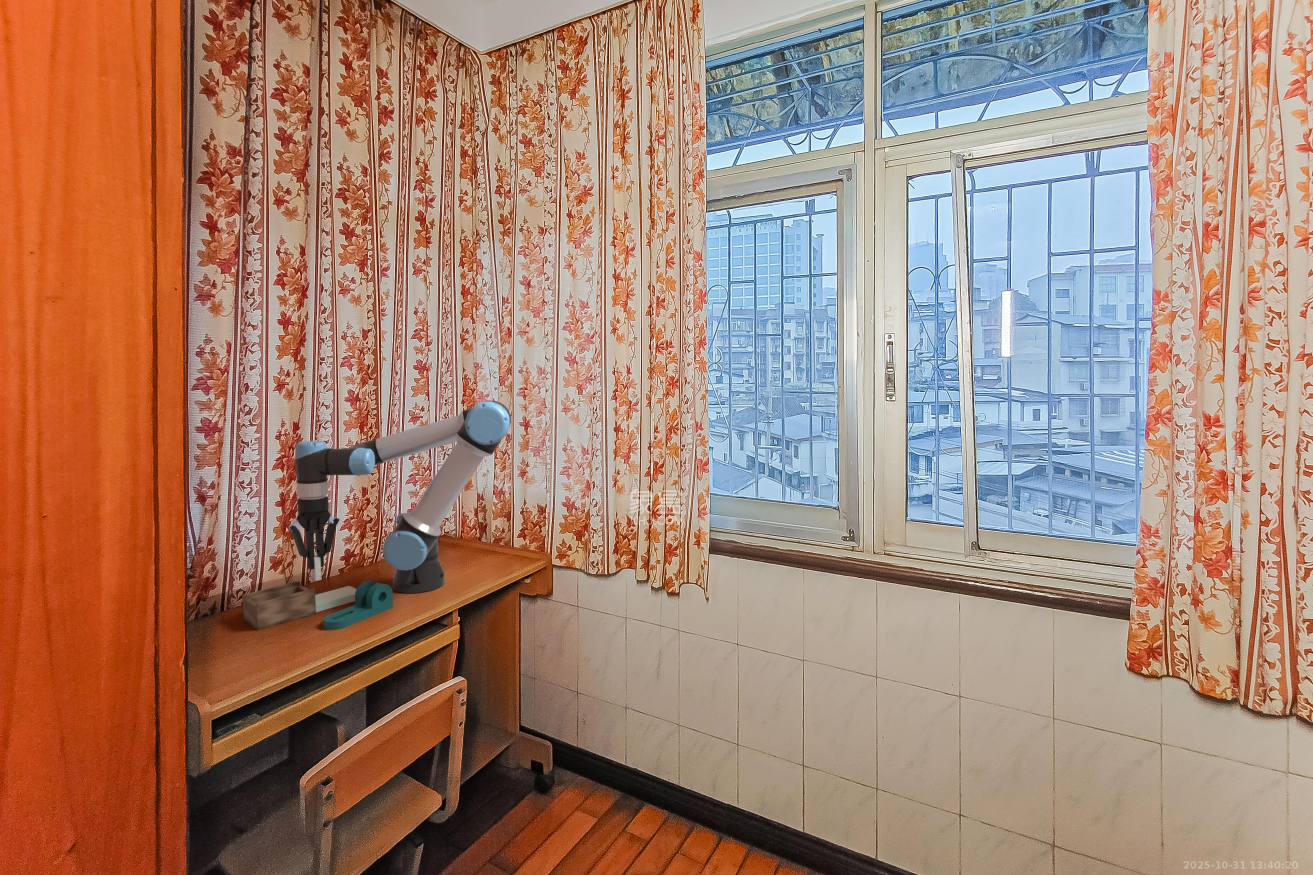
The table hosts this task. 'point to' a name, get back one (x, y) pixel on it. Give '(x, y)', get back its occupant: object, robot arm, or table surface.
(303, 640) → the table surface
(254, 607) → the box
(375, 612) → the bracket
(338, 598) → the lid
